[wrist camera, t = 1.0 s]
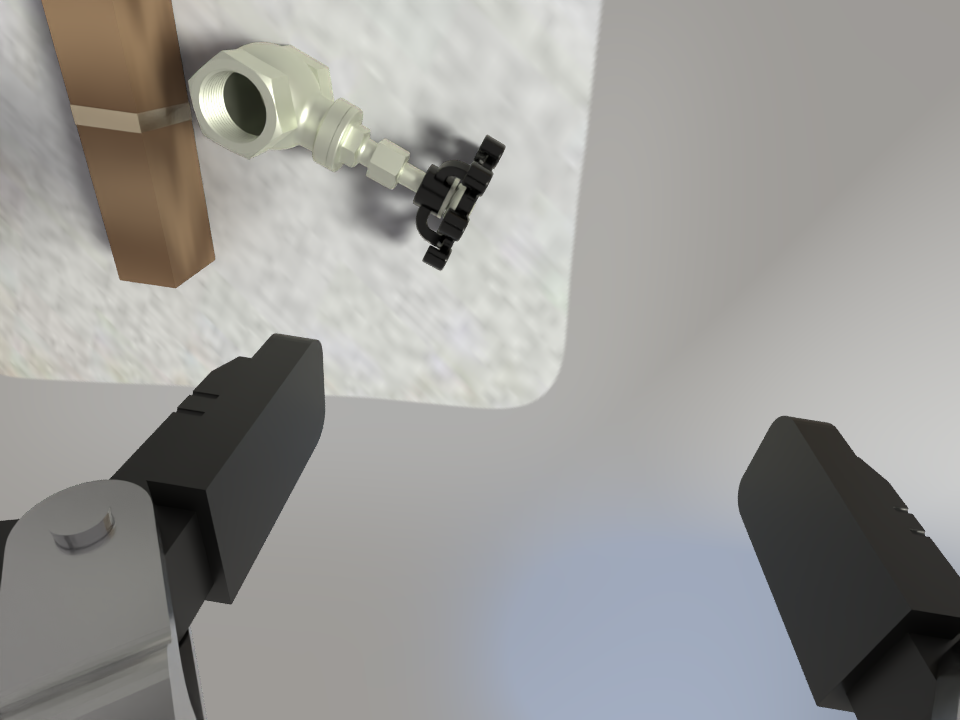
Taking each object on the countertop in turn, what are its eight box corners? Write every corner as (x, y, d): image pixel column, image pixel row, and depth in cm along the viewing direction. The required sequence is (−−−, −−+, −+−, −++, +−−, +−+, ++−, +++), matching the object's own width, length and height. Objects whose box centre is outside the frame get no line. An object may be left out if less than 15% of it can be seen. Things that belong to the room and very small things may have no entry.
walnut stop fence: (86, -104, 23) (4, -127, 19) (155, -95, 23) (85, -117, 19) (165, 252, 31) (119, 280, 28) (215, 259, 31) (175, 288, 28)
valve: (242, 131, 27) (450, 245, 29) (165, 158, 22) (428, 296, 24) (278, -7, 24) (510, 133, 26) (198, -17, 18) (501, 162, 20)
